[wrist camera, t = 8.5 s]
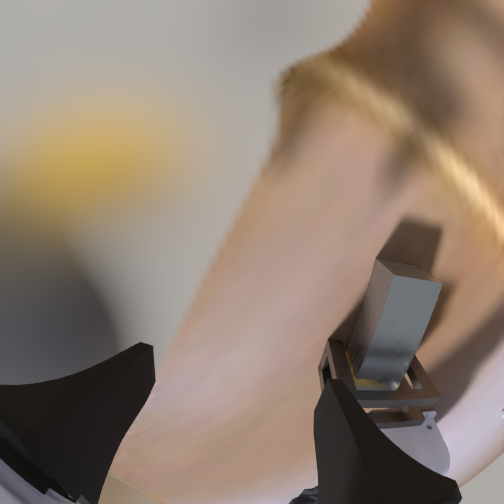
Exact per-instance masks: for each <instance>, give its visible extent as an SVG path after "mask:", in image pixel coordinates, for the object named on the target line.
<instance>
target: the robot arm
mask: <svg viewBox="0 0 504 504" xmlns="http://www.w3.org/2000/svg"><path fill="white" fill-rule="evenodd" d="M155 381H156V380H155V368H154V355H153V346H152V345H148V344H145V343H142V342H139V343H138V344H135V345H134V346H132V347H130V348H128V349H127V350H124V351H122V352H121V353H119V354H117V355H115V356H113V357H111V358H109V359H107V360H105V361H103V362H101V363H99V364H97V365H95V366H92V367H90V368H88V369H86V370H83V371H81V372H78V373H75V374H73V375H69V376H66V377H63V378H59V379H55V380H50V381H46V382H41V383H34V384H24V385H0V504H74V503H75V504H98V500H99V497H100V494H101V490H102V487H103V485H104V482H105V479H106V476H107V473H108V471H109V468H110V466H111V463H112V461H113V458H114V456H115V454H116V452H117V450H118V447H119V445H120V443H121V441H122V439H123V437H124V436H125V434H126V432H127V431H128V429H129V428H130V426H131V424H132V423H133V421H134V420H135V418H136V417H137V415H138V414H139V412H140V410H141V409H142V407H143V406H144V404H145V402H146V401H147V399H148V397H149V395H150V393H151V390H152V388H153V386H154V383H155ZM423 414H424V417H425V419H426V420H425V421H424V422H423V424H422V425H420V426H412V427H402V428H389V429H379V427H378V426H377V425H376V424H375V423H374V422H373V421H372V419H371V418H370V417H369V416H368V415H367V413H366V412H365V411H364V409H363V408H362V407H361V405H360V404H359V403H358V401H357V400H356V399H355V397H354V396H353V394H352V393H351V392H350V390H349V389H348V387H347V386H346V384H345V383H344V382H343V380H342V379H330V378H328V379H327V382H326V384H325V387H324V389H323V391H322V394H321V396H320V399H319V401H318V403H317V406H316V408H315V410H314V441H315V450H316V460H317V470H318V497H317V504H459V503H460V501H461V499H462V496H461V493H460V491H459V488H458V485H457V483H456V481H455V480H453V479H450V478H448V477H446V474H447V472H448V470H449V465H450V455H449V451H448V448H447V446H446V444H445V442H444V440H443V437H442V435H441V433H440V431H439V429H438V427H437V425H436V423H435V421H434V419H433V418H434V417H435V415H436V414H437V413H436V411H425V412H423ZM67 499H68V500H67ZM69 500H70V501H71V502H70V501H69ZM72 502H73V503H72Z"/></svg>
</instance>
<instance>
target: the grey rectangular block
mask: <svg viewBox="0 0 504 504" xmlns="http://www.w3.org/2000/svg"><path fill="white" fill-rule="evenodd" d="M442 284H443V283H441V282H440V281H439V280H437V279H436V278H435V277H433V276H432V275H431V274H429V273H428V272H426V271H425V270H424V269H422V268H421V267H419V266H415V265H409V264H404V263H399V262H394V261H389V260H383V259H378V258H375V262H374V266H373V270H372V273H371V277H370V281H369V284H368V288H367V291H366V294H365V298H364V301H363V304H362V307H361V310H360V314H359V317H358V320H357V323H356V326H355V329H354V331H353V334H352V337H351V340H350V343H349V345H348V348H347V350H346V356H347V359H348V363H349V366H350V369H351V372H352V376H353V379H354V383H355V386H356V390H397V388H398V387H399V385H400V383H401V381H402V379H403V377H404V375H405V373H406V371H407V369H408V367H409V365H410V363H411V361H412V359H413V357H414V355H415V353H416V351H417V348H418V346H419V344H420V342H421V339H422V337H423V335H424V333H425V330H426V328H427V325H428V323H429V320H430V318H431V315H432V313H433V310H434V307H435V305H436V302H437V299H438V296H439V293H440V290H441V287H442Z"/></svg>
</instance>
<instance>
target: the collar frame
mask: <svg viewBox="0 0 504 504" xmlns="http://www.w3.org/2000/svg"><path fill="white" fill-rule="evenodd" d="M318 370H319V377H320V384H321V391H323V389H324V387H325V384H326V382H327V379H328V378H330V379H342V380H343V382H344V383H345V384H346V386H347V387H348V389H349V390H350V392H351V393H352V394H353V396H354V397H355V399H356V400H357V401H358V403H359V404H360V405H361V407H362V408H390V407H401V408H402V411H403V412H397V413H367V415H368V416H369V417H370V418H371V419H372V421H373V422H374V423H375V424H376V425H377V426H378V427H379V429H389V428H402V427H412V426H420V425H422V424H423V422H424V421H425V420H426V419H425V417H424V414H423V412H422V410H421V408H420V406H423V405H433V404H437V402H438V400H439V399H440V395H439V393H438V392H437V390H436V388H435V387H434V385H433V383H432V382H431V380H430V378H429V377H428V375H427V373H426V372H425V370H424V369H423V367H422V365H421V364H420V362H419V361H418V359H417V358H416V356H415V355H414V357H413V359H412V361H411V363H410V365H409V367H408V369H407V371H406V372H407V374H408V376H409V378H410V380H411V382H412V384H413V386H414V388H415V389H416V390H411V388H410V386H409V384H408V382H407V380H406V378H405V376H404V377H403V379H402V381H401V383H400V385H399V387H398V388H397V390H356V386H355V383H354V379H353V376H352V372H351V369H350V366H349V363H348V359H347V356H346V353H345V350H344V347H343V343H342V341H338V340H329V339H328V340H327V343H326V346H325V349H324V352H323V355H322V358H321V361H320V364H319V367H318Z"/></svg>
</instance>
